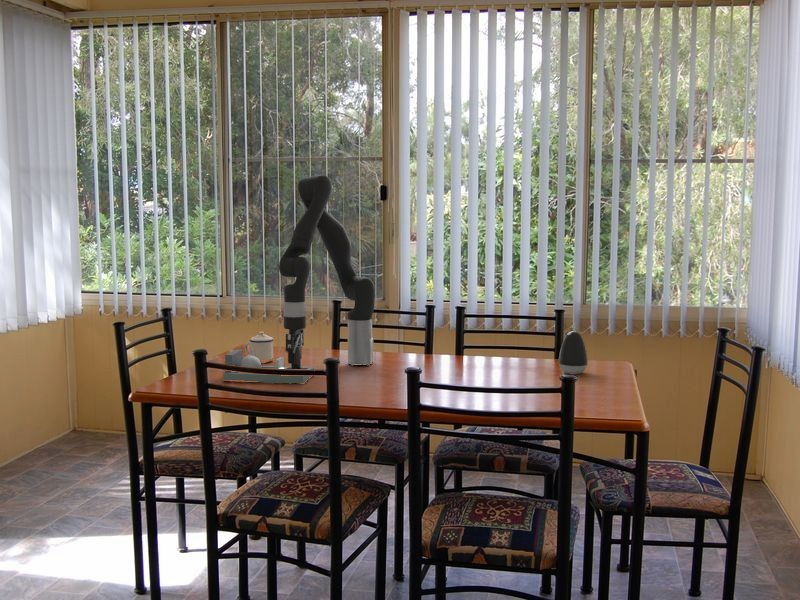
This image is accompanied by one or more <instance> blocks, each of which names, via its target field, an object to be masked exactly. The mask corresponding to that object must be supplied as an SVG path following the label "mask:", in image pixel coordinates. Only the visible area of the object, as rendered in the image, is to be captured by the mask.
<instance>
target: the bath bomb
mask: <svg viewBox="0 0 800 600" xmlns="http://www.w3.org/2000/svg"><path fill="white" fill-rule="evenodd" d="M239 366H243V367H253V368H262V366H263V365H262V364H261V362H260V360H259V359H258V358H257V357H255V356H251V355H247V356H243V358H242V359H241V361H240V363H239Z"/></svg>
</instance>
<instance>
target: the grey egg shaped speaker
mask: <svg viewBox="0 0 800 600" xmlns="http://www.w3.org/2000/svg"><path fill="white" fill-rule="evenodd" d="M564 333H565V337H564V339H563V341H562V343H561V348H560V351H559V356H558V365H559V367H560V369H561V371H562V372H563V373H564V374H567V373H573V374H572V375H580V374H582V373H584V371H586V368H587V366H588V363H589V361H588V360H589V359H588V353H587V352H588V351H587V349H586V348H587V347H586V345H585V342H584V338H583V337H582V335H581V334H580V333H579V332H578V331H574V330H573V331H570V332H569V331H565V332H564Z"/></svg>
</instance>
